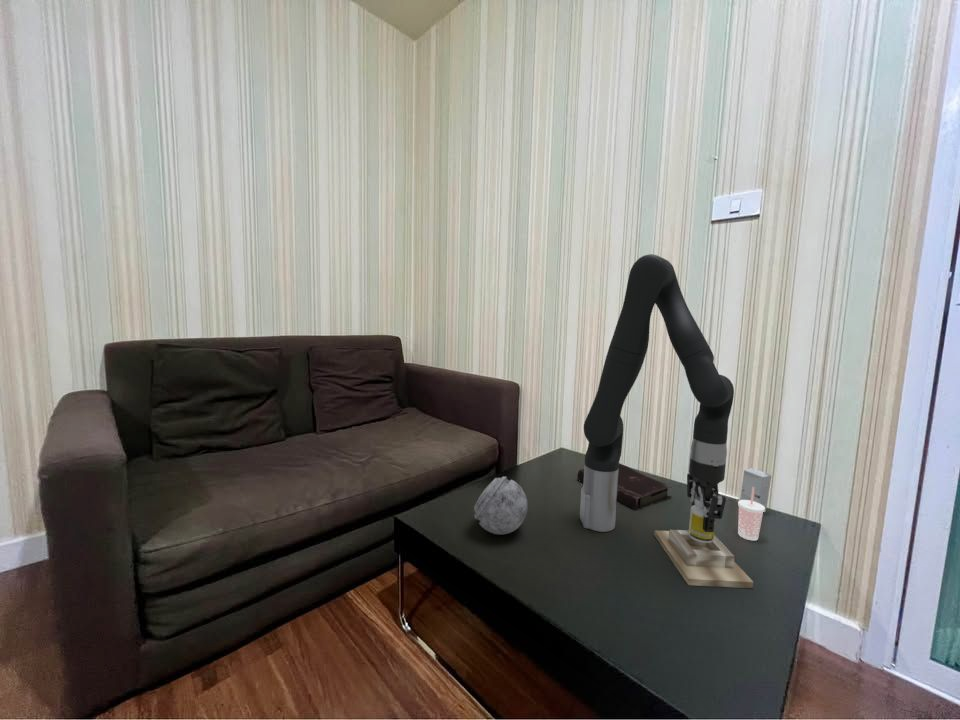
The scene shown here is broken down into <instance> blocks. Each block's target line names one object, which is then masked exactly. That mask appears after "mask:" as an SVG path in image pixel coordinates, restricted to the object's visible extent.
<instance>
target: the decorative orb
mask: <svg viewBox="0 0 960 720" xmlns="http://www.w3.org/2000/svg"><path fill="white" fill-rule="evenodd" d="M473 509H474V515H473V517H474V518H475V520H478V521H479V523H478V524H479V525H480V526H481V528H483V530H485V531H487V532H489V533H491V534H493V535H498V536H499V535H501V536H502V535H507V534H511V533H512V532H513V533H514V532H515V531H516V530H518V529H519V528H520V526H521V525H522V524H523V523H524V521H525V519H526V516H527V514H528V499H527V496H526V493H525V491H524V490H523V488H522V486H521V485H519V484H518V483H517V482H516V481H515V480H513V479H510V480H509V479H508V477H507V476H502V477H495V478H494V479H493V480H492V481H491V482H490V483H489V484H488V485H487V486H486V487H485V488H484V490H483V491H482V493H481V494H480V495H479V497H478V499H477V500H476V503H475V504H474V506H473Z"/></svg>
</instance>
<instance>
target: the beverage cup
mask: <svg viewBox="0 0 960 720" xmlns="http://www.w3.org/2000/svg"><path fill="white" fill-rule="evenodd" d="M753 495H754V487H752V494H751V500H740V499H739V500H738V502H737V505H738V527H737V534H738V535H739V536H740V538H743V539H744V540H748V541H757V540H759V536H760V530H761V525H762V520H763V517H764V516H763V515H764V513H765V512H764V511H765V507H764V506H763V505H761V504H760V503H757V502H754V501H753ZM763 512H764V513H763Z"/></svg>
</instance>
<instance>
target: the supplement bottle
mask: <svg viewBox="0 0 960 720" xmlns="http://www.w3.org/2000/svg"><path fill="white" fill-rule="evenodd" d="M705 502H706V503H711V501H705ZM709 509H710V507H708V512H709ZM703 519H704V508H703V506H701V500H700V497H695V505H693V506H692V505H691V507H690V514H689V522H688V524H689V525H688V530H689V532H688V534H689V536H690V537H691V538H692V539H694V540H695V541H698V542H701V543H711V542H712V541H713V537H714V535H715V530H714V531H713V532H705V531H704V530H703ZM715 525H716V520H715V521H714V528H715Z"/></svg>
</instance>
